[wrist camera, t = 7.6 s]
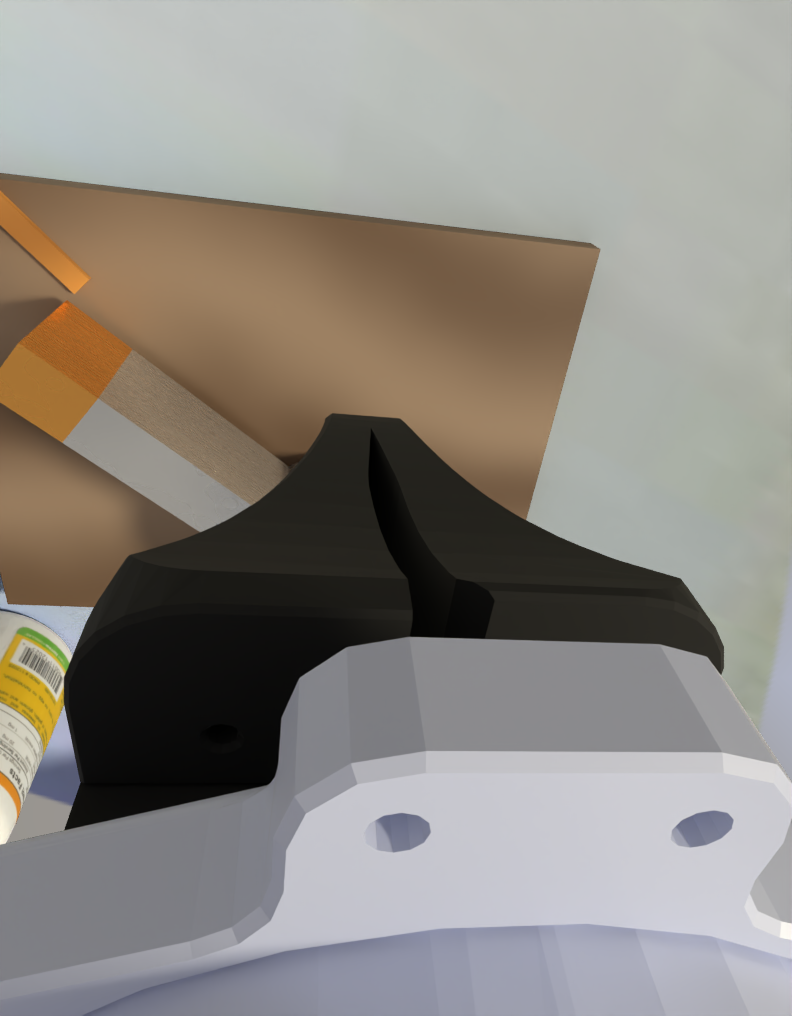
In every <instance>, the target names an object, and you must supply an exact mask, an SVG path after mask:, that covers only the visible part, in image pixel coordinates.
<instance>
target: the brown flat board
mask: <svg viewBox="0 0 792 1016" xmlns="http://www.w3.org/2000/svg"><path fill="white" fill-rule="evenodd" d="M599 253H600V249H599V248H597V247H596V246H594V245H593V244H591V243H584V242H576V241H567V240H559V239H550V238H542V237H534V236H525V235H517V234H508V233H500V232H491V231H483V230H475V229H466V228H458V227H449V226H441V225H433V224H424V223H416V222H407V221H399V220H391V219H382V218H374V217H365V216H357V215H348V214H340V213H332V212H323V211H315V210H306V209H298V208H290V207H281V206H273V205H264V204H256V203H248V202H239V201H231V200H222V199H214V198H205V197H197V196H189V195H180V194H172V193H163V192H155V191H147V190H138V189H130V188H121V187H113V186H105V185H96V184H88V183H79V182H71V181H62V180H54V179H46V178H37V177H29V176H20V175H12V174H4V173H0V367H1V366H2V365H3V363H4V362H5V361H6V359H7V358H8V356H9V355H10V354H11V352H12V351H13V349H14V348H15V347H16V345H17V344H18V343H19V342H20V341H21V340H22V339H23V338H24V337H25V336H27V335H28V334H29V333H30V332H31V331H32V330H33V329H35V328H36V327H37V326H38V325H39V324H40V323H41V322H42V321H44V320H45V319H46V318H47V317H48V316H49V315H50V314H52V313H53V312H54V311H55V310H56V309H57V308H58V307H60V306H61V305H62V304H63V303H64V302H65V301H66V300H68V301H69V302H70V303H72V304H73V305H74V306H76V307H77V308H78V309H80V310H81V311H82V312H84V313H85V314H86V315H88V316H89V317H90V318H92V319H93V320H94V321H96V322H97V323H98V324H100V325H101V326H102V327H104V328H105V329H106V330H108V331H109V332H110V333H112V334H113V335H114V336H116V337H117V338H118V339H120V340H121V341H122V342H124V343H125V344H126V345H128V346H129V347H130V348H132V349H133V350H134V351H136V352H137V353H138V354H140V355H141V356H142V357H144V358H145V359H146V360H148V361H149V362H150V363H152V364H153V365H154V366H156V367H157V368H158V369H160V370H161V371H162V372H164V373H165V374H166V375H168V376H169V377H170V378H172V379H173V380H174V381H176V382H177V383H178V384H179V385H181V386H182V387H183V388H185V389H186V390H187V391H189V392H190V393H191V394H193V395H194V396H195V397H197V398H198V399H199V400H201V401H202V402H203V403H205V404H206V405H207V406H209V407H210V408H211V409H213V410H214V411H215V412H217V413H218V414H219V415H221V416H222V417H223V418H225V419H226V420H227V421H229V422H230V423H231V424H233V425H234V426H235V427H237V428H238V429H239V430H241V431H242V432H243V433H245V434H246V435H247V436H249V437H250V438H251V439H253V440H254V441H255V442H257V443H258V444H259V445H261V446H262V447H263V448H265V449H266V450H267V451H269V452H270V453H271V454H273V455H274V456H275V457H277V458H278V459H279V460H281V461H282V462H283V463H285V464H286V465H287V466H290V465H292V464H295V463H298V462H299V461H300V460H301V459H302V458H303V456H304V455H305V454H306V452H307V451H308V450H309V448H310V447H311V445H312V444H313V443H314V441H315V440H316V438H317V436H318V435H319V433H320V431H321V429H322V427H323V425H324V422H325V418H326V417H328V416H329V415H330V414H332V413H336V414H350V415H363V416H376V417H390V418H400V419H401V420H403V421H404V422H405V423H406V424H407V425H408V426H409V427H410V428H411V429H412V430H413V431H414V432H415V433H416V434H417V435H418V436H419V437H420V438H421V439H422V440H423V441H424V442H425V444H426V445H428V446H429V447H430V448H431V449H432V450H433V451H434V452H435V453H436V454H437V455H438V456H439V457H440V458H441V459H442V460H443V461H444V462H445V463H446V464H448V465H449V466H450V467H451V468H452V469H453V470H454V471H456V472H457V473H458V474H459V475H460V476H462V477H463V478H464V479H465V480H467V481H468V482H469V483H470V484H472V485H473V486H474V487H475V488H477V489H478V490H479V491H481V492H482V493H483V494H485V495H486V496H488V497H489V498H490V499H492V500H494V501H495V502H497V503H498V504H500V505H501V506H503V507H505V508H506V509H508V510H509V511H511V512H512V513H514V514H516V515H517V516H519V517H521V518H523V519H525V520H526V518H527V514H528V511H529V507H530V503H531V500H532V496H533V492H534V489H535V485H536V481H537V478H538V474H539V471H540V467H541V463H542V460H543V456H544V452H545V449H546V445H547V442H548V438H549V434H550V431H551V427H552V423H553V420H554V416H555V412H556V409H557V405H558V402H559V398H560V394H561V391H562V387H563V383H564V380H565V376H566V372H567V369H568V365H569V362H570V358H571V354H572V351H573V347H574V343H575V340H576V336H577V332H578V329H579V325H580V322H581V318H582V314H583V311H584V307H585V303H586V300H587V296H588V293H589V289H590V285H591V282H592V278H593V274H594V271H595V267H596V263H597V260H598V256H599ZM197 533H200V532H199V531H197V530H196V529H194V528H193V527H191V526H190V525H188V524H187V523H185V522H184V521H182V520H180V519H179V518H177V517H176V516H174V515H173V514H171V513H170V512H168V511H167V510H165V509H164V508H162V507H160V506H159V505H157V504H156V503H154V502H153V501H151V500H150V499H148V498H147V497H145V496H143V495H142V494H140V493H139V492H137V491H136V490H134V489H133V488H131V487H130V486H128V485H127V484H125V483H123V482H122V481H120V480H119V479H117V478H116V477H114V476H113V475H111V474H110V473H108V472H106V471H105V470H103V469H102V468H100V467H99V466H97V465H96V464H94V463H93V462H91V461H90V460H88V459H86V458H85V457H83V456H82V455H80V454H79V453H77V452H76V451H74V450H73V449H71V448H69V447H68V446H66V445H65V444H63V443H62V442H60V441H59V440H57V439H56V438H54V437H53V436H51V435H49V434H48V433H46V432H45V431H43V430H42V429H40V428H39V427H37V426H36V425H34V424H32V423H31V422H29V421H28V420H26V419H25V418H23V417H22V416H20V415H19V414H17V413H16V412H14V411H12V410H11V409H9V408H8V407H6V406H5V405H3V404H2V403H0V574H1V578H2V582H3V586H4V590H5V594H6V598H7V602H8V604H19V605H48V606H77V607H95V605H96V603H97V601H98V600H99V598H100V597H101V595H102V594H103V592H104V591H105V589H106V588H107V586H108V584H109V583H110V581H111V580H112V579H113V577H114V576H115V574H116V573H117V571H118V570H119V568H120V567H121V565H122V564H123V562H124V561H125V559H126V558H127V557H128V556H129V555H131V554H135V553H139V552H142V551H146V550H149V549H152V548H156V547H159V546H162V545H166V544H169V543H172V542H175V541H179V540H182V539H184V538H187V537H190V536H192V535H195V534H197Z"/></svg>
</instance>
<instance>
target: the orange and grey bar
mask: <svg viewBox="0 0 792 1016" xmlns="http://www.w3.org/2000/svg"><path fill="white" fill-rule="evenodd" d="M0 403H2V404H3V405H5V406H6V407H8V408H9V409H11V410H12V411H14V412H16V413H17V414H19V415H20V416H22V417H23V418H25V419H26V420H28V421H29V422H31V423H32V424H34V425H36V426H37V427H39V428H40V429H42V430H43V431H45V432H46V433H48V434H49V435H51V436H53V437H54V438H56V439H57V440H59V441H60V442H62V443H63V444H65V445H66V446H68V447H69V448H71V449H73V450H74V451H76V452H77V453H79V454H80V455H82V456H83V457H85V458H86V459H88V460H90V461H91V462H93V463H94V464H96V465H97V466H99V467H100V468H102V469H103V470H105V471H106V472H108V473H110V474H111V475H113V476H114V477H116V478H117V479H119V480H120V481H122V482H123V483H125V484H127V485H128V486H130V487H131V488H133V489H134V490H136V491H137V492H139V493H140V494H142V495H143V496H145V497H147V498H148V499H150V500H151V501H153V502H154V503H156V504H157V505H159V506H160V507H162V508H164V509H165V510H167V511H168V512H170V513H171V514H173V515H174V516H176V517H177V518H179V519H180V520H182V521H184V522H185V523H187V524H188V525H190V526H191V527H193V528H194V529H196V530H197V531H199V532H202V531H204V530H207V529H209V528H211V527H213V526H215V525H218V524H220V523H222V522H224V521H226V520H228V519H230V518H231V517H233V516H235V515H236V514H238V513H240V512H241V511H243V510H244V509H246V508H248V507H249V506H251V505H253V504H254V503H256V502H257V501H259V500H260V499H261V498H262V497H264V496H265V495H266V494H267V493H269V492H270V491H271V490H272V489H273V488H274V487H275V486H276V485H278V484H279V483H280V482H281V481H282V480H283V479H284V478H285V477H286V476H287V475H288V473H289V472H290V471H291V470H292V469H293V468H294V467H295V466H296V465H297V464H298V463H295V464H292V465H290V466H287V465H286V464H285V463H283V462H282V461H281V460H279V459H278V458H277V457H275V456H274V455H273V454H271V453H270V452H269V451H267V450H266V449H265V448H263V447H262V446H261V445H259V444H258V443H257V442H255V441H254V440H253V439H251V438H250V437H249V436H247V435H246V434H245V433H243V432H242V431H241V430H239V429H238V428H237V427H235V426H234V425H233V424H231V423H230V422H229V421H227V420H226V419H225V418H223V417H222V416H221V415H219V414H218V413H217V412H215V411H214V410H213V409H211V408H210V407H209V406H207V405H206V404H205V403H203V402H202V401H201V400H199V399H198V398H197V397H195V396H194V395H193V394H191V393H190V392H189V391H187V390H186V389H185V388H183V387H182V386H181V385H179V384H178V383H177V382H176V381H174V380H173V379H172V378H170V377H169V376H168V375H166V374H165V373H164V372H162V371H161V370H160V369H158V368H157V367H156V366H154V365H153V364H152V363H150V362H149V361H148V360H146V359H145V358H144V357H142V356H141V355H140V354H138V353H137V352H136V351H134V350H133V349H132V348H130V347H129V346H128V345H126V344H125V343H124V342H122V341H121V340H120V339H118V338H117V337H116V336H114V335H113V334H112V333H110V332H109V331H108V330H106V329H105V328H104V327H102V326H101V325H100V324H98V323H97V322H96V321H94V320H93V319H92V318H90V317H89V316H88V315H86V314H85V313H84V312H82V311H81V310H80V309H78V308H77V307H76V306H74V305H73V304H72V303H70V302H69V301H68V300H66V301H65V302H64V303H63V304H62V305H61V306H60V307H58V308H57V309H56V310H55V311H54V312H53V313H52V314H50V315H49V316H48V317H47V318H46V319H45V320H44V321H42V322H41V323H40V324H39V325H38V326H37V327H36V328H35V329H33V330H32V331H31V332H30V333H29V334H28V335H27V336H25V337H24V338H23V339H22V340H21V341H20V342H19V343H18V344H17V345H16V347H15V348H14V349H13V351H12V352H11V354H10V355H9V356H8V358H7V359H6V361H5V362H4V363H3V365H2V366H1V367H0Z"/></svg>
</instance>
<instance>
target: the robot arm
mask: <svg viewBox="0 0 792 1016" xmlns="http://www.w3.org/2000/svg"><path fill="white" fill-rule="evenodd" d="M723 669H724V646H723V644H722V641H721V639H720V637H719V635H718V632H717V630H716V628H715V626H714V625H713V623H712V622H711V621H710V619H709V618H708V616H707V615H706V613H705V612H704V611H703V609H702V608H701V606H700V605H699V603H698V602H697V601H696V599H695V598H694V596H693V595H692V593H691V592H690V591H689V589H688V588H687V586H686V585H685V584H684V582H683V581H682V580H681V579H680V578H677V577H673V576H670V575H666V574H663V573H660V572H656V571H653V570H649V569H646V568H642V567H639V566H636V565H632V564H629V563H625V562H622V561H619V560H616V559H613V558H610V557H607V556H605V555H602V554H600V553H597V552H594V551H592V550H589V549H586V548H584V547H581V546H579V545H576V544H574V543H572V542H569V541H567V540H565V539H562V538H560V537H558V536H556V535H554V534H552V533H550V532H548V531H546V530H544V529H542V528H540V527H538V526H536V525H534V524H532V523H530V522H528V521H526V520H525V519H523V518H521V517H519V516H517V515H516V514H514V513H512V512H511V511H509V510H508V509H506V508H505V507H503V506H501V505H500V504H498V503H497V502H495V501H494V500H492V499H490V498H489V497H488V496H486V495H485V494H483V493H482V492H481V491H479V490H478V489H477V488H475V487H474V486H473V485H472V484H470V483H469V482H468V481H467V480H465V479H464V478H463V477H462V476H460V475H459V474H458V473H457V472H456V471H454V470H453V469H452V468H451V467H450V466H449V465H448V464H446V463H445V462H444V461H443V460H442V459H441V458H440V457H439V456H438V455H437V454H436V453H435V452H434V451H433V450H432V449H431V448H430V447H429V446H428V445H426V444H425V442H424V441H423V440H422V439H421V438H420V437H419V436H418V435H417V434H416V433H415V432H414V431H413V430H412V429H411V428H410V427H409V426H408V425H407V424H406V423H405V422H404V421H403V420H401V419H400V418H390V417H376V416H363V415H350V414H336V413H332V414H330V415H329V416H328V417H326V418H325V422H324V425H323V427H322V429H321V431H320V433H319V435H318V436H317V438H316V440H315V441H314V443H313V444H312V445H311V447H310V448H309V450H308V451H307V452H306V454H305V455H304V456H303V458H302V459H301V460H300V461H299V462H298V464H297V465H296V466H295V467H294V468H293V469H292V470H291V471H290V472H289V473H288V475H287V476H286V477H285V478H284V479H283V480H282V481H281V482H280V483H279V484H278V485H276V486H275V487H274V488H273V489H272V490H271V491H270V492H269V493H267V494H266V495H265V496H264V497H262V498H261V499H260V500H259V501H257V502H256V503H254V504H253V505H251V506H249V507H248V508H246V509H244V510H243V511H241V512H240V513H238V514H236V515H235V516H233V517H231V518H230V519H228V520H226V521H224V522H222V523H220V524H218V525H215V526H213V527H211V528H209V529H207V530H204V531H202V532H200V533H197V534H195V535H192V536H190V537H187V538H184V539H182V540H179V541H175V542H172V543H169V544H166V545H162V546H159V547H156V548H152V549H149V550H146V551H142V552H139V553H135V554H131V555H129V556H128V557H127V558H126V559H125V561H124V562H123V564H122V565H121V567H120V568H119V570H118V571H117V573H116V574H115V576H114V577H113V579H112V580H111V581H110V583H109V584H108V586H107V588H106V589H105V591H104V592H103V594H102V595H101V597H100V598H99V600H98V601H97V603H96V605H95V607H94V608H93V610H92V612H91V614H90V616H89V618H88V620H87V622H86V624H85V627H84V629H83V632H82V634H81V637H80V639H79V642H78V644H77V646H76V649H75V651H74V654H73V656H72V659H71V661H70V664H69V666H68V668H67V671H66V673H65V676H64V706H65V710H66V715H67V720H68V725H69V730H70V734H71V739H72V744H73V749H74V753H75V758H76V763H77V768H78V773H79V777H80V782H81V783H80V786H79V789H78V792H77V795H76V798H75V801H74V803H73V806H72V809H71V812H70V815H69V818H68V821H67V824H66V827H65V830H64V831H60V832H56V833H51V834H46V835H42V836H37V837H33V838H28V839H24V840H19V841H15V842H10V843H6V844H1V845H0V1016H792V781H791V780H790V778H789V777H788V776H787V774H786V772H785V771H784V769H783V768H782V766H781V765H780V763H779V762H778V760H777V759H776V757H775V756H774V754H773V752H772V751H771V749H770V748H769V746H768V745H767V743H766V742H765V740H764V739H763V737H762V736H761V734H760V733H759V731H758V730H757V728H756V726H755V725H754V723H753V722H752V720H751V719H750V717H749V716H748V714H747V713H746V711H745V710H744V708H743V707H742V705H741V704H740V702H739V701H738V699H737V698H736V696H735V694H734V693H733V691H732V690H731V688H730V687H729V685H728V684H727V683H726V681H725V680H724V679H723V677H722V676H721V674H722V671H723Z"/></svg>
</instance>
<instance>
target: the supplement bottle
mask: <svg viewBox="0 0 792 1016" xmlns="http://www.w3.org/2000/svg"><path fill="white" fill-rule="evenodd" d="M71 659H72V654H71V652H70V650H69V648H68V647H67V645H66V644H65V642H64V641H63V640H62V639H61V638H60V637H59V636H58V635H57V634H56V633H55V632H54V631H52V630H51V629H50V628H48V627H47V626H45V625H43V624H42V623H40V622H38V621H36V620H34V619H32V618H29V617H26V616H23V615H20V614H16V613H11V612H6V611H0V845H1V844H6V842H7V841H8V839H9V836H10V835H11V832H12V830H13V828H14V826H15V824H16V822H17V819H18V817H19V814H20V812H21V809H22V806H23V804H24V801H25V799H26V796H27V794H28V791H29V789H30V786H31V784H32V781H33V779H34V776H35V774H36V771H37V769H38V766H39V764H40V762H41V760H42V757H43V755H44V752H45V750H46V747H47V745H48V742H49V740H50V738H51V735H52V733H53V730H54V728H55V725H56V723H57V721H58V718H59V716H60V713H61V711H62V709H63V706H64V676H65V673H66V671H67V668H68V666H69V664H70V661H71Z"/></svg>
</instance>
